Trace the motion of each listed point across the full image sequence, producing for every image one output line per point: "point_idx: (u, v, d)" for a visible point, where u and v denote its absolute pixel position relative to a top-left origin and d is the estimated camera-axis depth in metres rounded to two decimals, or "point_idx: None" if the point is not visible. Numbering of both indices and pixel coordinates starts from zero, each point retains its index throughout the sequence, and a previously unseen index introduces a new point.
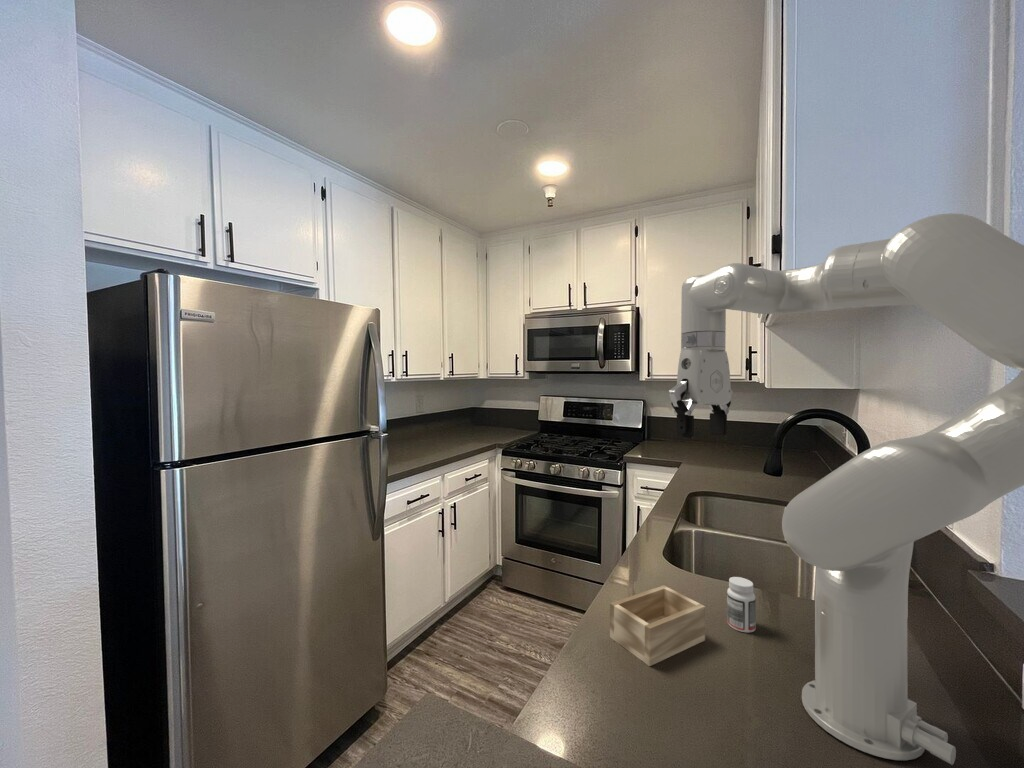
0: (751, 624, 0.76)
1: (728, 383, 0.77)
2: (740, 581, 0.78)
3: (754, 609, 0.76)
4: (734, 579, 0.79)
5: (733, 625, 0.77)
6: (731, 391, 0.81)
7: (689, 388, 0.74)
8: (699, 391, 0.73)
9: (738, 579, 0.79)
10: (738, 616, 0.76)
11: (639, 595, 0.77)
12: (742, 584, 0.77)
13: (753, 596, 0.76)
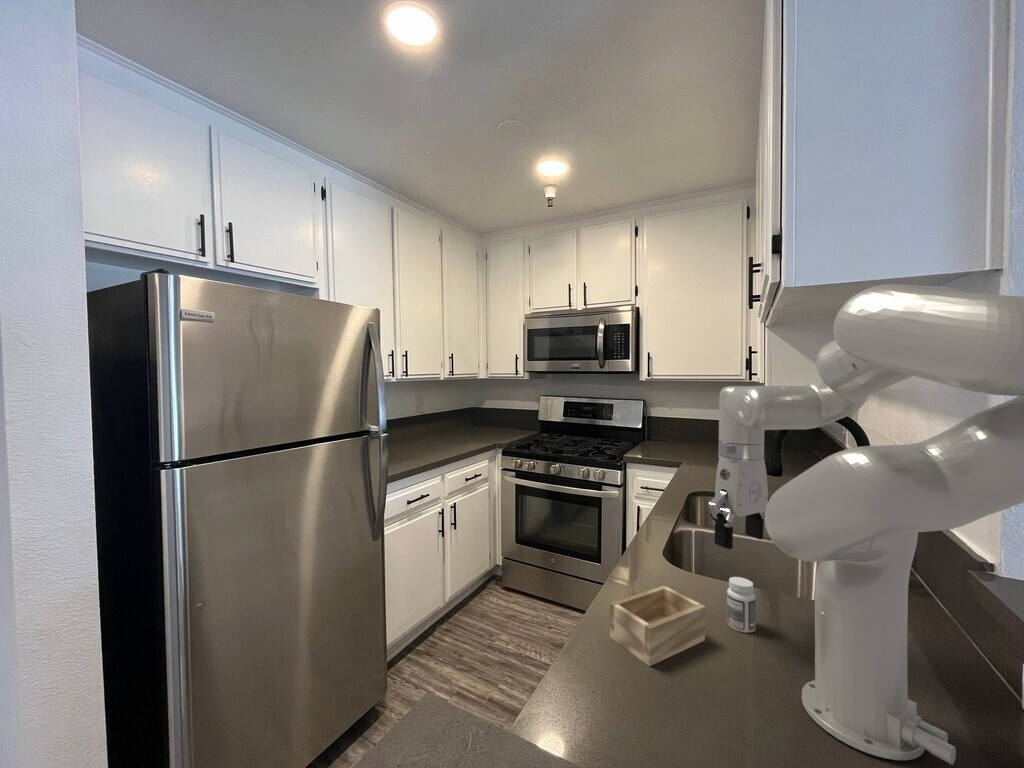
0: (751, 624, 0.76)
1: (765, 491, 0.78)
2: (740, 581, 0.78)
3: (754, 609, 0.76)
4: (734, 580, 0.79)
5: (733, 625, 0.77)
6: None
7: (728, 500, 0.75)
8: (739, 505, 0.74)
9: (738, 579, 0.79)
10: (738, 616, 0.76)
11: (639, 595, 0.77)
12: (742, 584, 0.77)
13: (753, 596, 0.76)
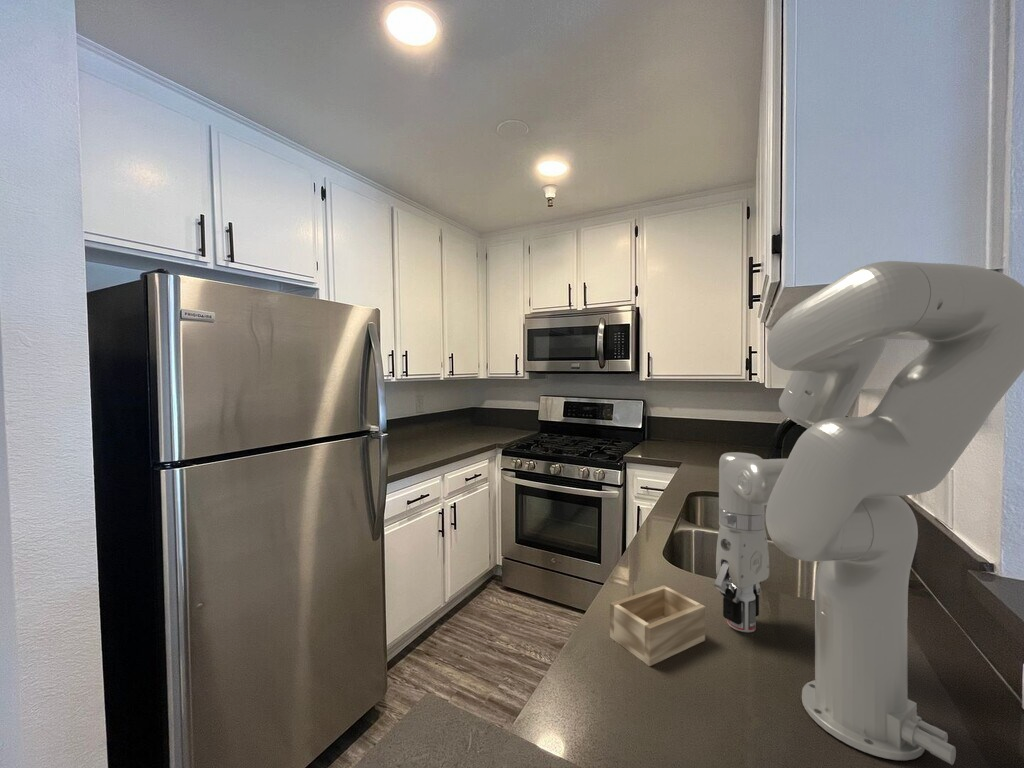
0: (751, 624, 0.76)
1: (767, 559, 0.78)
2: None
3: (754, 609, 0.76)
4: None
5: (733, 625, 0.77)
6: None
7: (729, 571, 0.75)
8: (740, 577, 0.74)
9: None
10: None
11: (639, 595, 0.77)
12: None
13: (753, 596, 0.76)
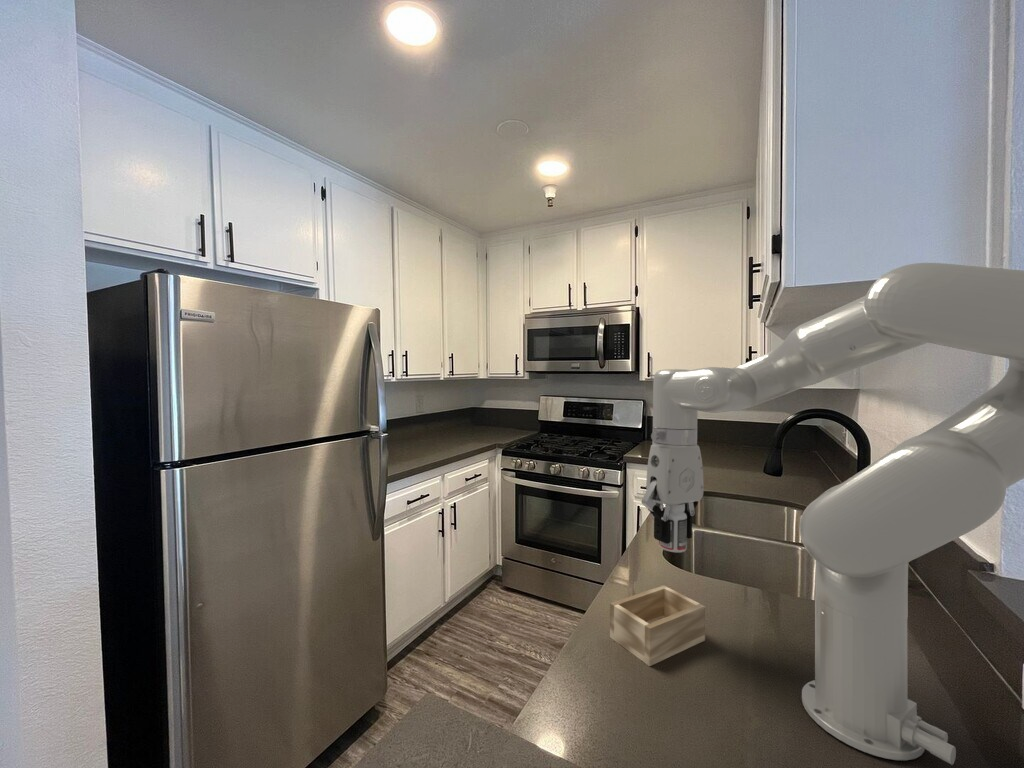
0: (680, 544, 0.73)
1: (700, 479, 0.74)
2: None
3: (684, 529, 0.73)
4: None
5: (662, 546, 0.74)
6: None
7: (657, 487, 0.72)
8: (667, 492, 0.71)
9: None
10: None
11: (639, 595, 0.77)
12: None
13: (684, 515, 0.73)
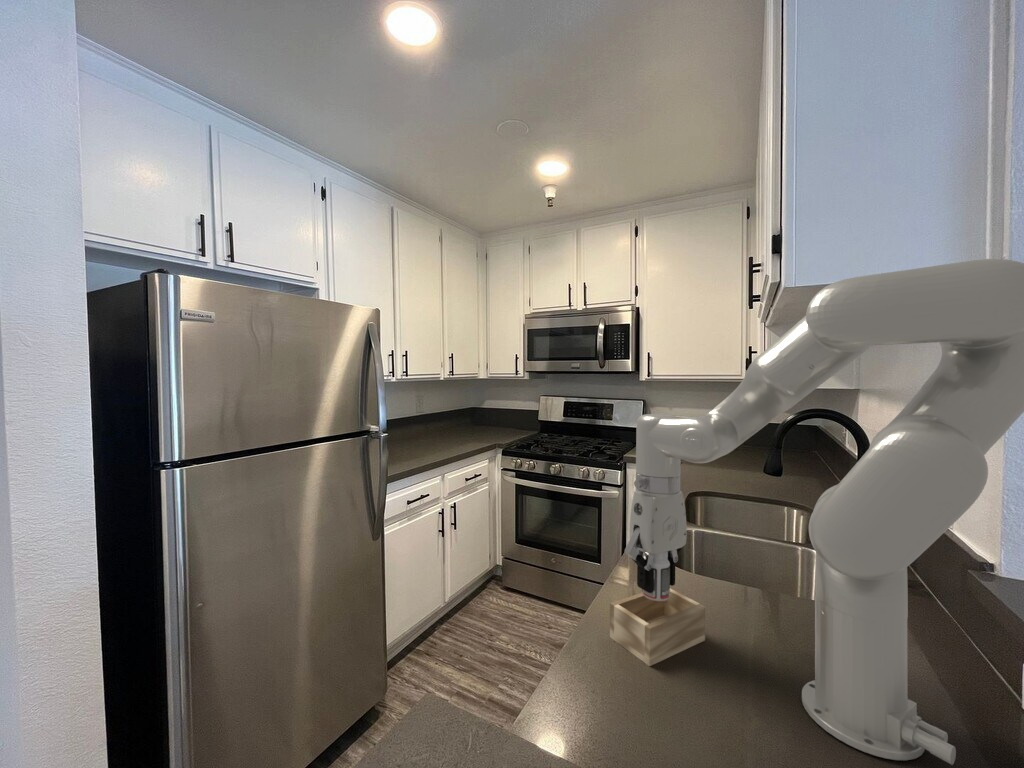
0: (663, 593, 0.72)
1: (683, 526, 0.74)
2: None
3: (667, 577, 0.72)
4: None
5: (645, 594, 0.73)
6: None
7: (640, 537, 0.71)
8: (650, 542, 0.70)
9: None
10: None
11: (639, 595, 0.77)
12: None
13: (667, 563, 0.73)
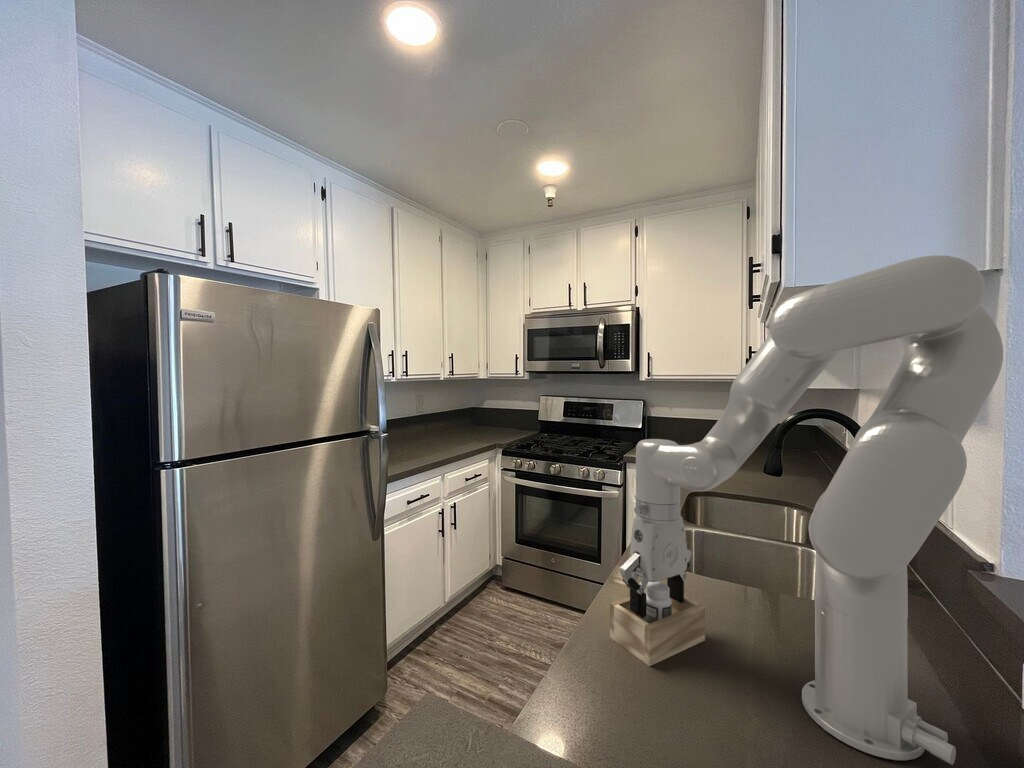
0: None
1: (684, 551, 0.74)
2: (657, 586, 0.74)
3: None
4: (650, 584, 0.74)
5: None
6: (690, 552, 0.77)
7: (641, 564, 0.71)
8: (651, 570, 0.69)
9: (655, 584, 0.74)
10: None
11: None
12: (657, 589, 0.72)
13: (668, 602, 0.72)
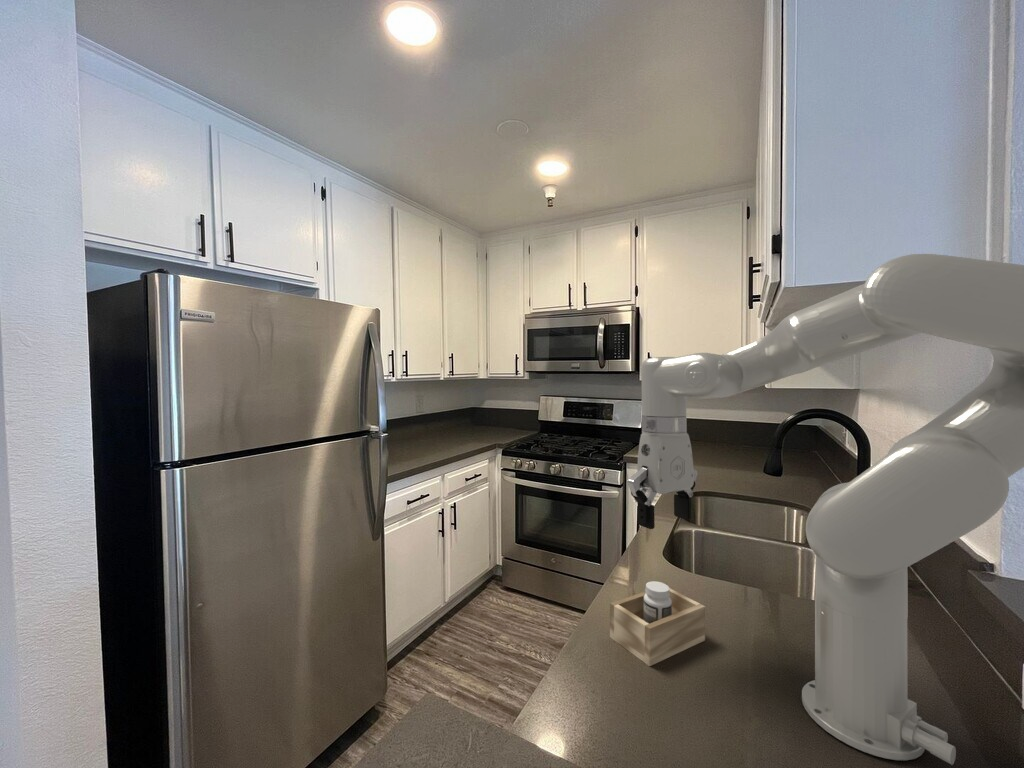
0: None
1: (691, 467, 0.74)
2: (656, 586, 0.74)
3: None
4: (650, 584, 0.74)
5: None
6: (696, 471, 0.78)
7: (649, 476, 0.71)
8: (659, 481, 0.70)
9: (656, 584, 0.74)
10: None
11: (639, 595, 0.77)
12: (657, 590, 0.72)
13: (668, 602, 0.72)
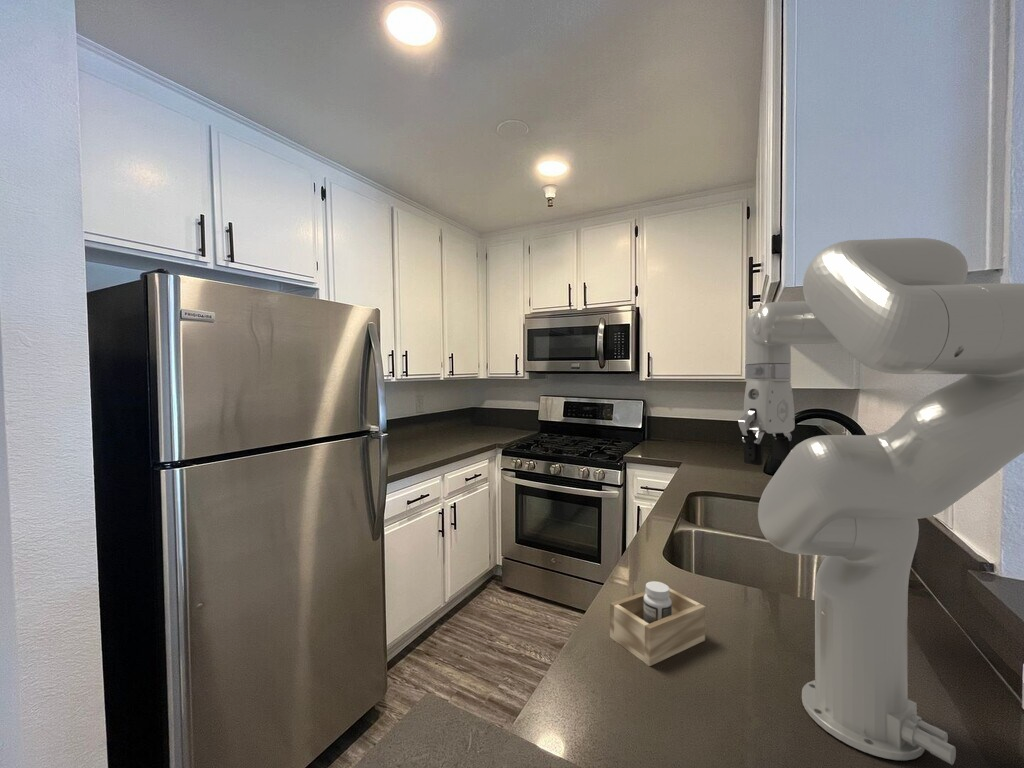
0: None
1: (792, 412, 0.81)
2: (656, 586, 0.74)
3: None
4: (650, 584, 0.74)
5: None
6: None
7: (757, 418, 0.78)
8: (768, 421, 0.77)
9: (655, 584, 0.74)
10: None
11: (639, 595, 0.77)
12: (657, 590, 0.72)
13: (668, 602, 0.72)
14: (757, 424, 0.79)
